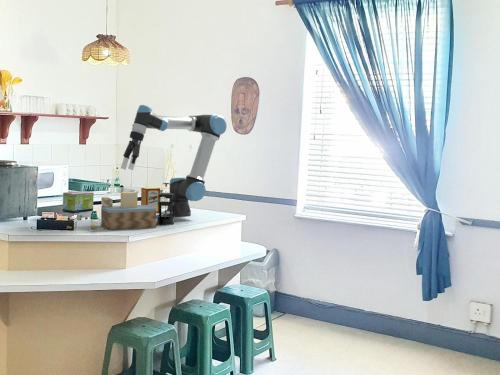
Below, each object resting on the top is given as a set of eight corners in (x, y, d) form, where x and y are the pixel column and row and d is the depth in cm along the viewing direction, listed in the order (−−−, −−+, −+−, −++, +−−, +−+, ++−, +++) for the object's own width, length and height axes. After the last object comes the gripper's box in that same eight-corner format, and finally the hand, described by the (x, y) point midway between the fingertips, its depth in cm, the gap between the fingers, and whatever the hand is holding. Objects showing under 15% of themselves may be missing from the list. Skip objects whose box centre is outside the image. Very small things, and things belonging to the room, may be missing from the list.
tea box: (74, 219, 349) (75, 193, 347) (61, 218, 354) (62, 192, 352) (93, 216, 362) (94, 191, 360) (81, 215, 367) (81, 190, 365)
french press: (164, 225, 341) (165, 184, 338) (152, 223, 346) (153, 182, 344) (179, 223, 350) (180, 183, 347) (167, 221, 355) (168, 181, 353)
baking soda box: (154, 211, 391) (154, 186, 389) (159, 213, 386) (160, 187, 384) (140, 212, 385) (141, 187, 383) (146, 214, 380) (146, 188, 378)
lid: (147, 210, 345) (147, 190, 344) (156, 213, 333) (156, 193, 332) (101, 211, 332) (101, 191, 331) (108, 215, 320) (108, 194, 319)
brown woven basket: (145, 222, 348) (145, 204, 347) (155, 227, 334) (156, 208, 332) (99, 224, 336) (99, 205, 335) (108, 230, 321) (108, 210, 320)
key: (107, 204, 338) (107, 197, 338) (112, 206, 330) (112, 199, 330) (101, 204, 337) (101, 197, 336) (106, 206, 329) (106, 199, 328)
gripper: (124, 131, 352) (114, 166, 350) (138, 129, 330) (127, 167, 328) (137, 135, 355) (126, 170, 353) (151, 134, 333) (140, 171, 331)
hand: (126, 169), depth 340 cm, fingers open, 13 cm apart
